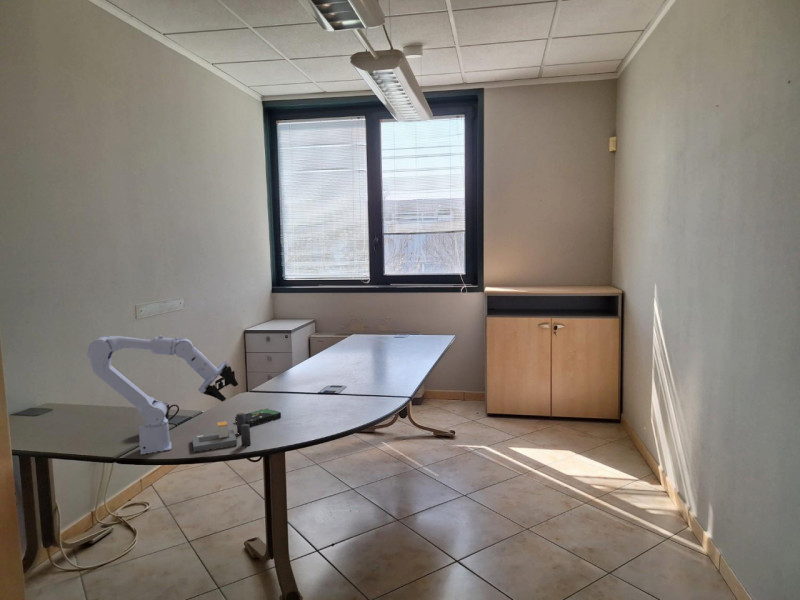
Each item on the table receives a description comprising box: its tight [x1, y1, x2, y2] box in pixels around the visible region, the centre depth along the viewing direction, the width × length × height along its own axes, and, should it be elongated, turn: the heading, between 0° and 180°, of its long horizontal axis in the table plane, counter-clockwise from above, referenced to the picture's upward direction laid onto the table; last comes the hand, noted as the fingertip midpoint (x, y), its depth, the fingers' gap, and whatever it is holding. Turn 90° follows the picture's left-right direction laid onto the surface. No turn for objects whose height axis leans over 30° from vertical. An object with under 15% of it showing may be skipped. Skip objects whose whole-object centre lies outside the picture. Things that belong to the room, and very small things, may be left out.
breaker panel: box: [191, 429, 238, 452], centre depth 189 cm, size 14×12×2 cm
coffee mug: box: [162, 401, 180, 423], centre depth 205 cm, size 12×9×10 cm
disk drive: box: [234, 408, 282, 427], centre depth 214 cm, size 10×3×15 cm
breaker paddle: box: [216, 421, 228, 438], centre depth 190 cm, size 3×4×4 cm
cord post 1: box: [235, 412, 246, 435], centre depth 199 cm, size 3×3×7 cm
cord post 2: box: [240, 424, 252, 447], centre depth 186 cm, size 3×3×7 cm
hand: (230, 392), depth 192 cm, fingers open, 7 cm apart
